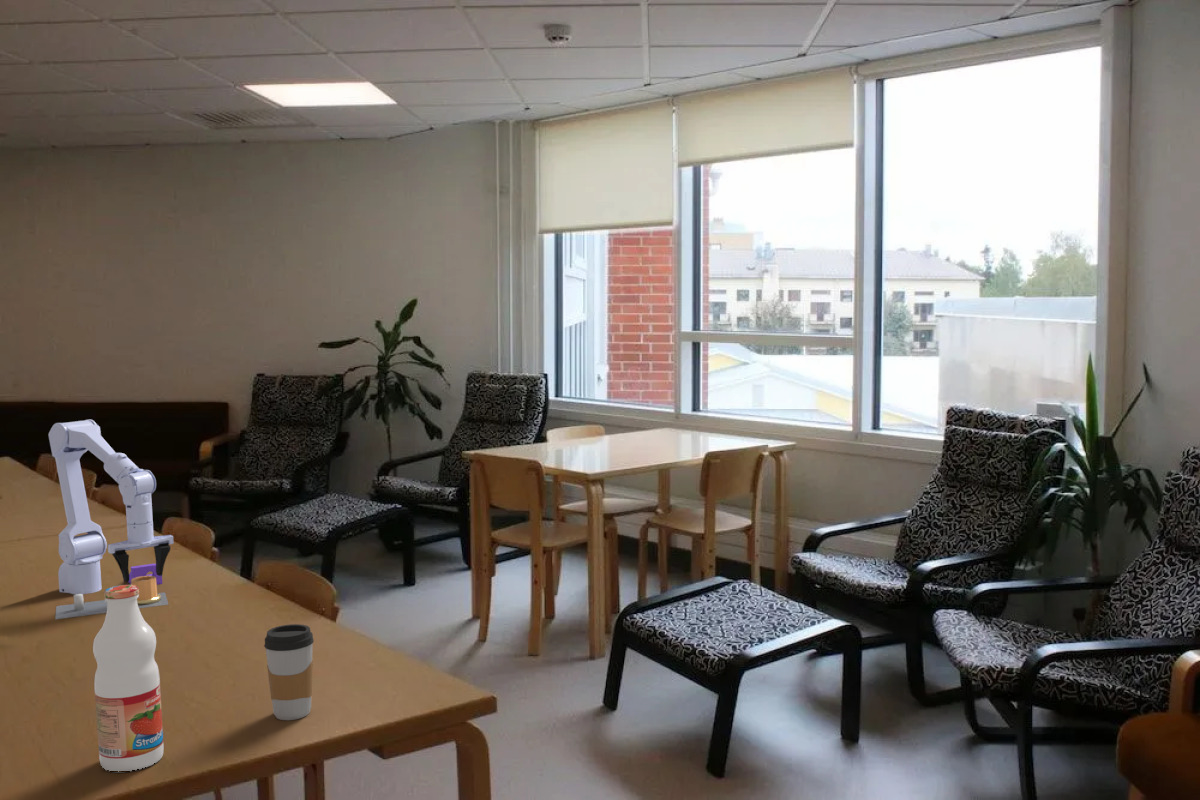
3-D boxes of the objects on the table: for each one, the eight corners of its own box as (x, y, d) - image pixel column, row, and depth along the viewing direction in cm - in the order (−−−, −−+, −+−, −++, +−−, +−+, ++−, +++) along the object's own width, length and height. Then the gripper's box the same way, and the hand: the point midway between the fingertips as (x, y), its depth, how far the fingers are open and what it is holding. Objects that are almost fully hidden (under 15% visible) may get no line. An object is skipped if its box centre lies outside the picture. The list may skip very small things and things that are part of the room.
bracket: (162, 590, 273) (161, 564, 272) (133, 595, 269) (132, 568, 269) (153, 580, 283) (152, 555, 282) (126, 585, 279) (124, 559, 279)
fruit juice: (113, 749, 174) (102, 581, 172) (172, 747, 175) (162, 579, 172) (89, 775, 165) (77, 597, 162) (152, 772, 165) (140, 595, 163)
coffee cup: (273, 706, 192) (269, 624, 190) (320, 703, 193) (317, 622, 191) (262, 724, 184) (258, 639, 182) (312, 721, 184) (308, 636, 183)
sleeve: (129, 600, 254) (128, 582, 253) (135, 594, 259) (134, 576, 258) (154, 599, 255) (153, 580, 254) (159, 593, 260) (157, 575, 259)
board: (55, 625, 243) (54, 604, 243) (56, 612, 254) (55, 591, 254) (168, 610, 254) (167, 589, 253) (165, 598, 264) (164, 578, 264)
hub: (121, 604, 255) (120, 582, 254) (143, 595, 261) (142, 575, 261) (145, 606, 252) (144, 584, 252) (167, 598, 259) (166, 577, 259)
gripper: (112, 529, 247) (116, 586, 249) (176, 520, 257) (179, 575, 258) (103, 524, 253) (107, 581, 254) (166, 515, 262) (169, 570, 263)
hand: (143, 577), depth 256 cm, fingers open, 7 cm apart
